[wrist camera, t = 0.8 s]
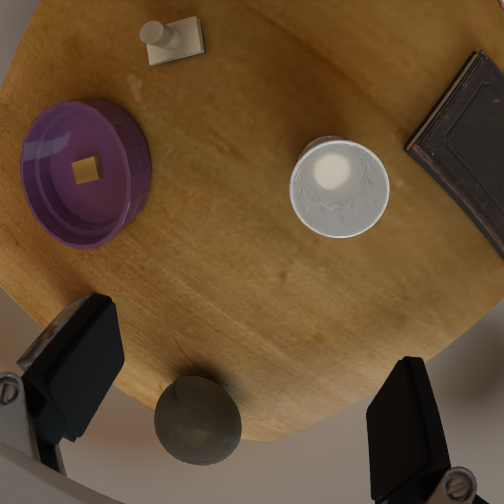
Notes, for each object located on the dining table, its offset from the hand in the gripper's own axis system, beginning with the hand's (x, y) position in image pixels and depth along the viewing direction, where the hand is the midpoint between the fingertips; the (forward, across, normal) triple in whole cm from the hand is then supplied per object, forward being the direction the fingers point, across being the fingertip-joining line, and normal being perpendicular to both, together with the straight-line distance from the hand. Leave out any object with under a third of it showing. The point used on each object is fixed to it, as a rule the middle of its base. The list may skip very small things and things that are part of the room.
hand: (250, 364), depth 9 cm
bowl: (+27, +25, +3) cm, 37 cm away
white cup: (+27, -4, -2) cm, 27 cm away
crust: (+26, +25, +3) cm, 36 cm away
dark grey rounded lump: (+27, +6, +38) cm, 47 cm away
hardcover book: (+27, -25, -8) cm, 38 cm away
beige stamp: (+27, +14, -13) cm, 33 cm away
